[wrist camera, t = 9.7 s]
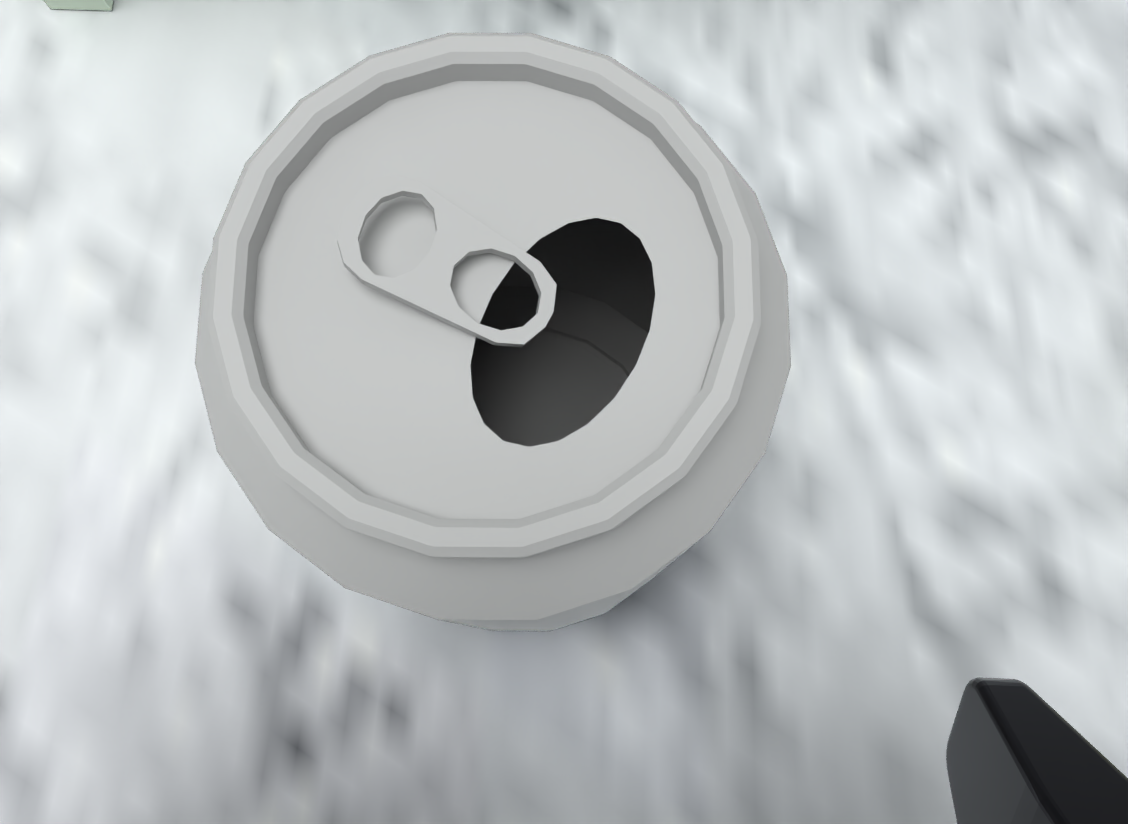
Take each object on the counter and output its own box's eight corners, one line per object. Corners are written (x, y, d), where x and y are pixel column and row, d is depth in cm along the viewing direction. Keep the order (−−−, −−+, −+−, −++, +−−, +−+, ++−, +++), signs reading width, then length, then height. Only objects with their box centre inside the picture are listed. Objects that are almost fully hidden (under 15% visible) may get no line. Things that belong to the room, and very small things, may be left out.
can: (601, 697, 22) (636, 754, 11) (292, 532, 23) (5, 415, 11) (753, 388, 24) (932, 135, 12) (458, 243, 24) (355, -128, 13)
